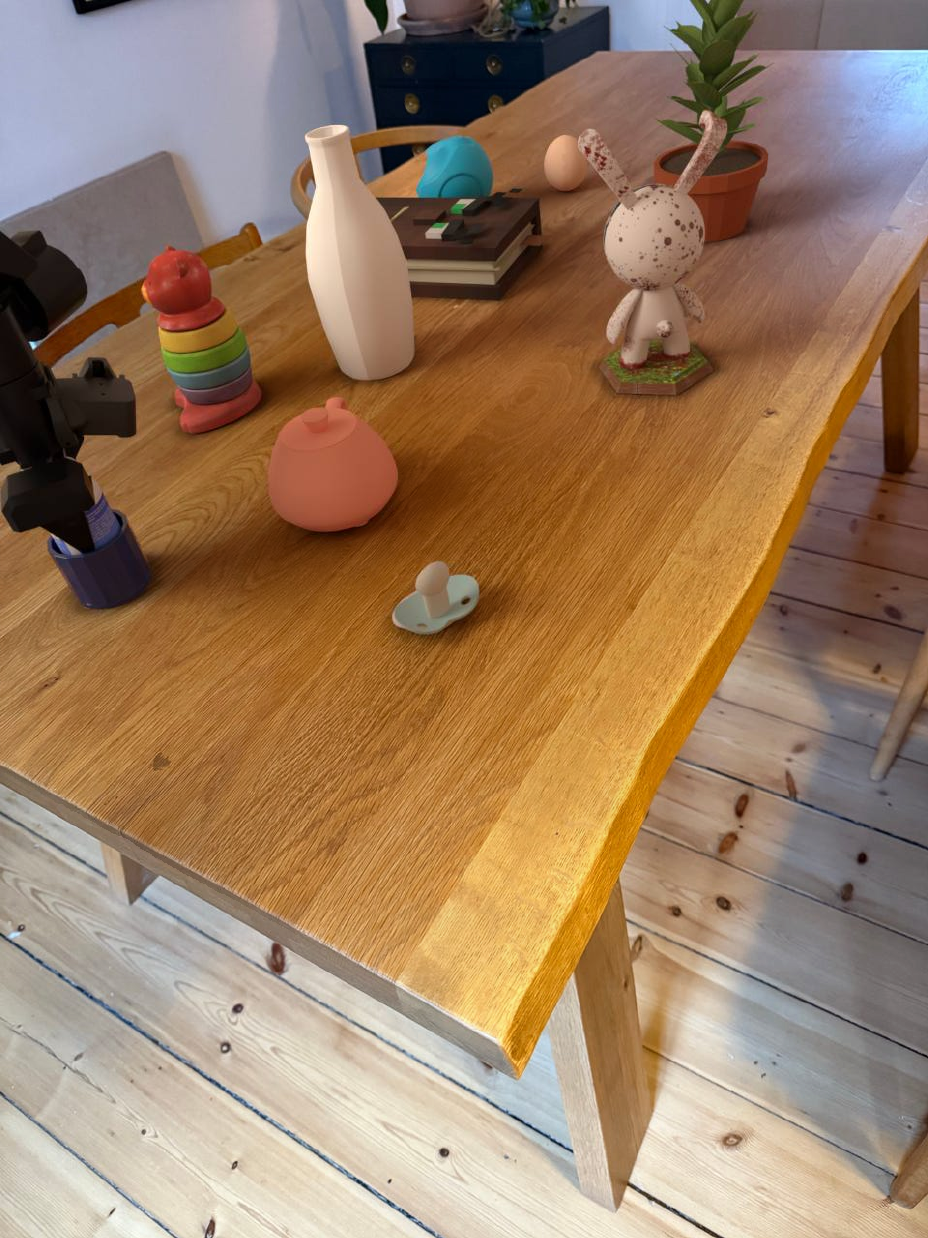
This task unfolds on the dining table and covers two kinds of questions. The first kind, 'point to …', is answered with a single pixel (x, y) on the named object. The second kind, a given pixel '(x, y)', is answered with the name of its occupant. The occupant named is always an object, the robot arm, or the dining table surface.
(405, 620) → the pacifier
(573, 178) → the egg
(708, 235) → the potted plant
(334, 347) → the bottle
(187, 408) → the stacking bear
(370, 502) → the sugar bowl
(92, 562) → the dark blue cup
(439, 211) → the decorative book
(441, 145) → the blue rounded dome
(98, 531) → the pill bottle
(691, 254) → the figurine
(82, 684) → the dining table surface
